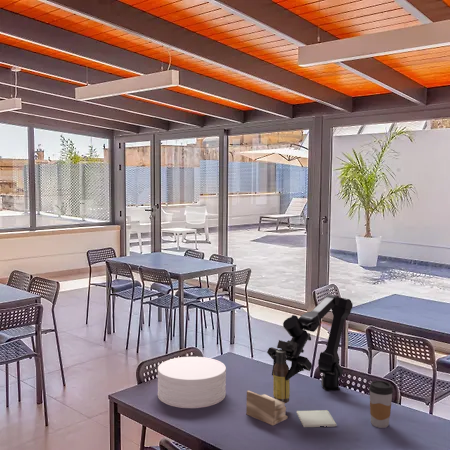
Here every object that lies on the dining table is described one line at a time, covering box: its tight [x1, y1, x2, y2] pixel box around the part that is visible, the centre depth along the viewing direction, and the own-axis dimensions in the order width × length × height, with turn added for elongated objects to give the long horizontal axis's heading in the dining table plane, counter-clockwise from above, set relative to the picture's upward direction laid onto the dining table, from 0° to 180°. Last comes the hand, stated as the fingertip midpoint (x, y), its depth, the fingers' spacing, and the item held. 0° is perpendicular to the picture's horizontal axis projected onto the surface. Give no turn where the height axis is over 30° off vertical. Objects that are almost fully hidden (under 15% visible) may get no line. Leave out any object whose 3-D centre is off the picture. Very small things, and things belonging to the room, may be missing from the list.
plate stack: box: [157, 356, 227, 409], centre depth 218 cm, size 28×28×12 cm
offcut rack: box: [245, 390, 288, 426], centre depth 198 cm, size 9×13×9 cm
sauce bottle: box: [272, 348, 291, 404], centre depth 203 cm, size 6×6×20 cm
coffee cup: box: [368, 380, 394, 429], centre depth 192 cm, size 8×8×15 cm
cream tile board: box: [296, 409, 337, 428], centre depth 196 cm, size 12×12×1 cm
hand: (279, 377), depth 202 cm, fingers closed on sauce bottle, 6 cm apart
